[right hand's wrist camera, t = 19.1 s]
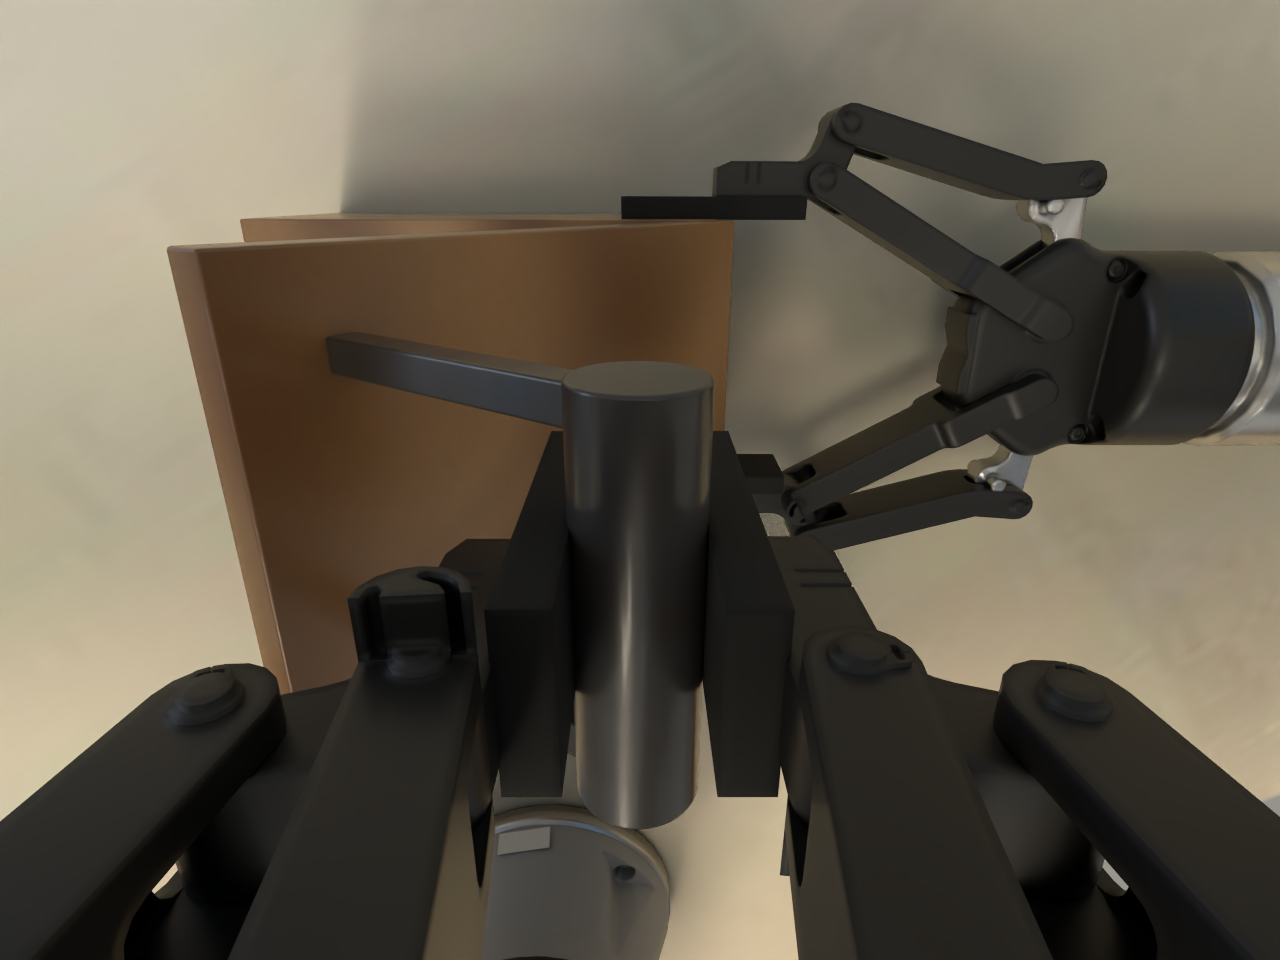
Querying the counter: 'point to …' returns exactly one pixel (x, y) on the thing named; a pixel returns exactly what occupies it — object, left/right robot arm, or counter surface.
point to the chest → (416, 224)
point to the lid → (480, 448)
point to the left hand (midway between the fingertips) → (623, 349)
